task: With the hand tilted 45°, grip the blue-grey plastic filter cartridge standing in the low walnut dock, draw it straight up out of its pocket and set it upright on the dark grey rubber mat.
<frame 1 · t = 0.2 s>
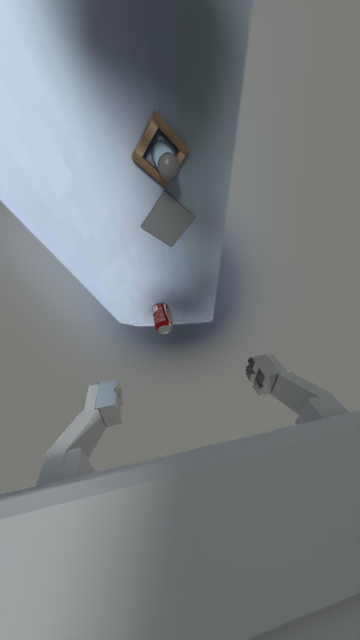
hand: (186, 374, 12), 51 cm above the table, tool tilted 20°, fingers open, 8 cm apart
filter cartridge: (164, 159, 41), in the walnut dock
soda can: (159, 307, 85), on the table
grey mat: (167, 220, 57), on the table
walnut dock: (159, 151, 44), on the table
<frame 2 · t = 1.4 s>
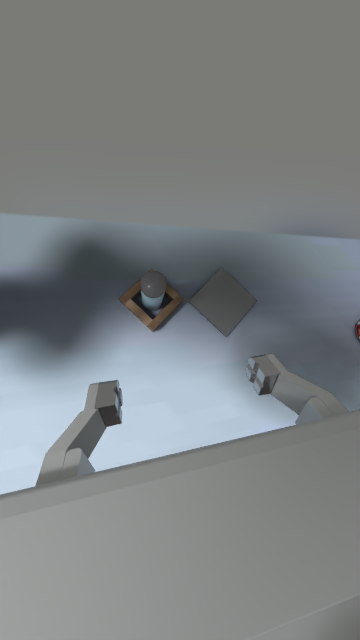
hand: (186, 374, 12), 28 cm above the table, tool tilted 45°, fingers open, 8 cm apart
filter cartridge: (152, 293, 36), in the walnut dock
grey mat: (222, 301, 44), on the table
walnut dock: (152, 301, 42), on the table
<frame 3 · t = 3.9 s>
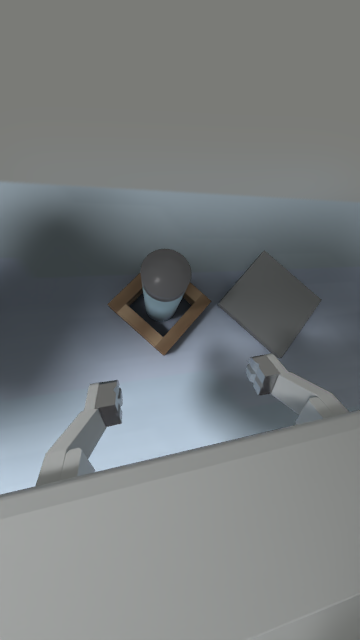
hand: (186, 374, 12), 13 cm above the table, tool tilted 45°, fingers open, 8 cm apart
filter cartridge: (162, 293, 21), in the walnut dock
grey mat: (269, 303, 29), on the table
walnut dock: (160, 306, 26), on the table
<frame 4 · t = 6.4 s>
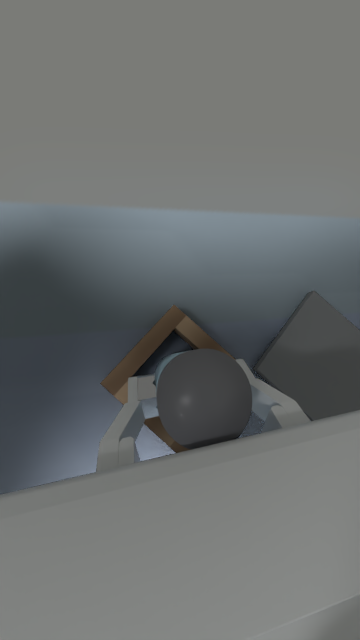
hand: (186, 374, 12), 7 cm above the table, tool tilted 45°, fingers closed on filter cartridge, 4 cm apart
filter cartridge: (185, 381, 13), in the walnut dock, touching gripper
grey mat: (321, 363, 21), on the table
walnut dock: (175, 374, 19), on the table
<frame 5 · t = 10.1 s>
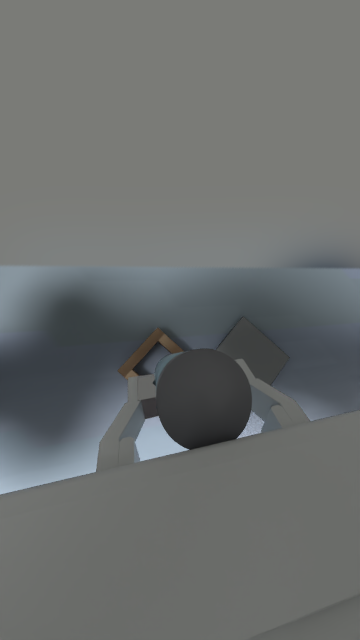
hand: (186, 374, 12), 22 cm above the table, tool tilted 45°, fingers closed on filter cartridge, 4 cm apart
filter cartridge: (184, 381, 13), point 20 cm above the table, touching gripper
grey mat: (246, 360, 35), on the table
walnut dock: (159, 367, 33), on the table
when the fingers open (9 cm above the table, at t = 14.0 s): filter cartridge drops 1 cm, resting on grey mat.
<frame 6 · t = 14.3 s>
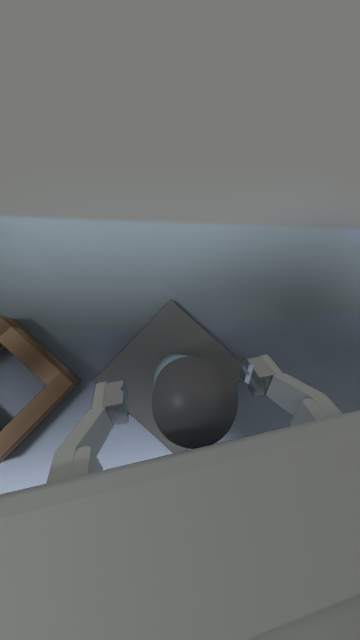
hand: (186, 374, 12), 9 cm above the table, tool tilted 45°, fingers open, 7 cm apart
filter cartridge: (180, 382, 15), on the grey mat, point 6 cm above the table
grey mat: (174, 373, 21), on the table
walnut dock: (8, 386, 19), on the table
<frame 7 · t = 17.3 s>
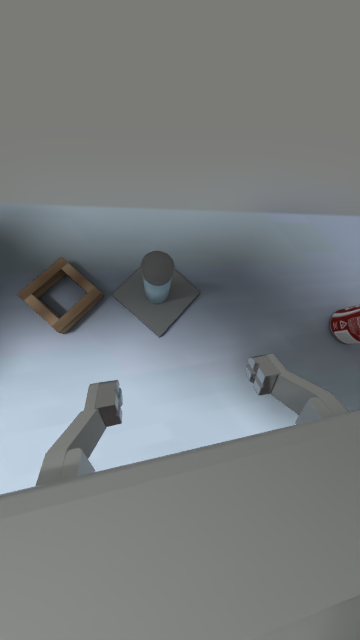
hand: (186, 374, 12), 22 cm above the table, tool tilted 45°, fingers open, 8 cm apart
filter cartridge: (157, 282, 30), on the grey mat, point 6 cm above the table
soda can: (341, 327, 40), on the table
grey mat: (157, 294, 36), on the table
walnut dock: (65, 297, 34), on the table
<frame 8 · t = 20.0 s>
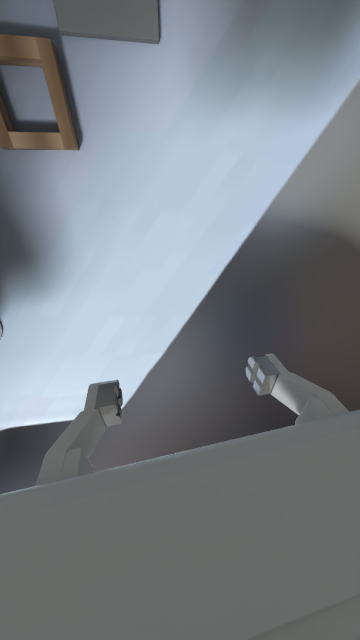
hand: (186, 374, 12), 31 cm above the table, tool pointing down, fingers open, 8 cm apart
walnut dock: (30, 102, 25), on the table
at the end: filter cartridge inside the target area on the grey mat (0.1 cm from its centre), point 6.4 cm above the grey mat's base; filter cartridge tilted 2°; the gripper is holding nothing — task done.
